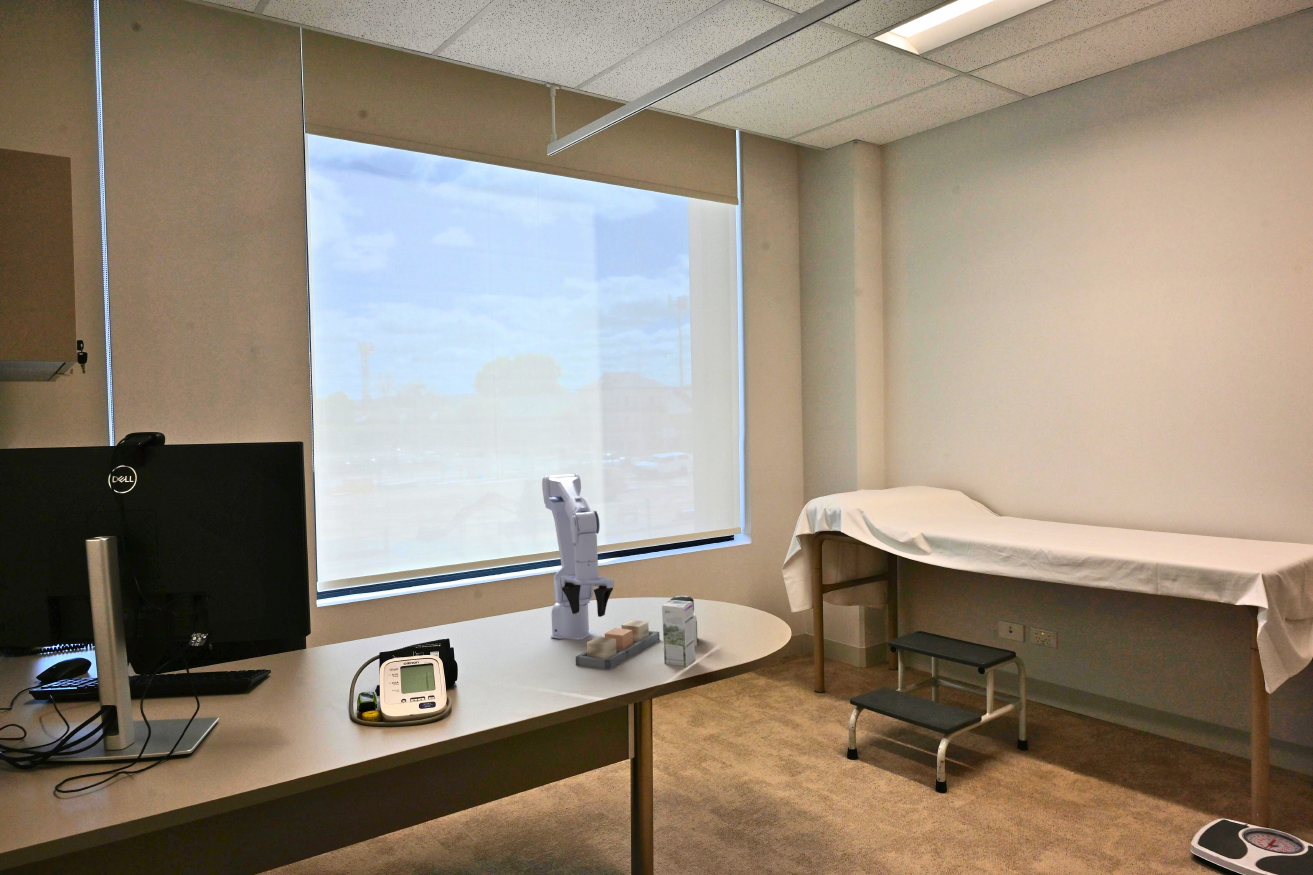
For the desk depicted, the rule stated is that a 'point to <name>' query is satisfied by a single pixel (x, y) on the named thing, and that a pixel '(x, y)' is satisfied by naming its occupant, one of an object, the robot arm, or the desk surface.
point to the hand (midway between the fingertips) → (588, 614)
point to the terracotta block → (621, 637)
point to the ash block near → (601, 648)
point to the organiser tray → (621, 653)
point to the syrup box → (678, 632)
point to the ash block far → (637, 628)
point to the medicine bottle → (686, 598)
